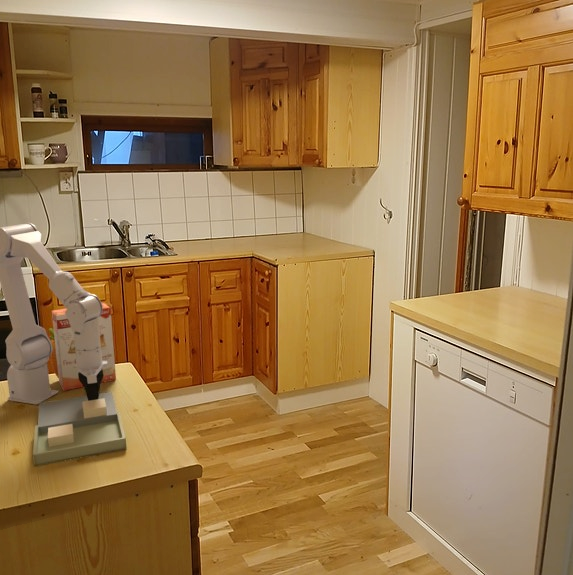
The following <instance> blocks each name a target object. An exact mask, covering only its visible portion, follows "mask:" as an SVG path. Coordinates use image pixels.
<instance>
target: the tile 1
mask: <svg viewBox="0 0 573 575" xmlns="http://www.w3.org/2000/svg"><path fill="white" fill-rule="evenodd" d="M73 442H74V436H73V425H72V424H68V425H62V426H56V427H51V428H48V443H49V447H51V446H56V445H62V444H68V443H73Z"/></svg>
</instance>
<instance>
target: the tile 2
mask: <svg viewBox="0 0 573 575" xmlns="http://www.w3.org/2000/svg"><path fill="white" fill-rule="evenodd" d="M82 403H83V413H84V419H85V418H91V417H97V416H103V415H107V410H106V403H105V398H103V399H97V400H90V401H84V402H82Z"/></svg>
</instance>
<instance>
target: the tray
mask: <svg viewBox="0 0 573 575" xmlns="http://www.w3.org/2000/svg"><path fill="white" fill-rule="evenodd" d="M73 436H74V442H73V443H68V444H62V445H56V446H51V447H49V443H48V432H47V433H41V434H39V429H38V424H36V425H34V436H33V448H32V449H33V450H32V459H33V467H38V466H45V465H49V464H54V463H55V464H56V463H59V462H60V463H61V462H65V460H66V461H70V459H71V460H76V459H80V457H82V458H85V457H86V456H87V457H93V456H97V455H103V454H107V453H108V454H109V453H112V452H113V453H114V452H118V451H123V450H124V451H125V450H127V448H128V447H127V437H126V433H125V429H124V425H123V422H122V417H121V413H120V411H117V421H111V422H105V423H99V424H94V425H88V426H82V427H76V428H73ZM102 453H103V454H102Z"/></svg>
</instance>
